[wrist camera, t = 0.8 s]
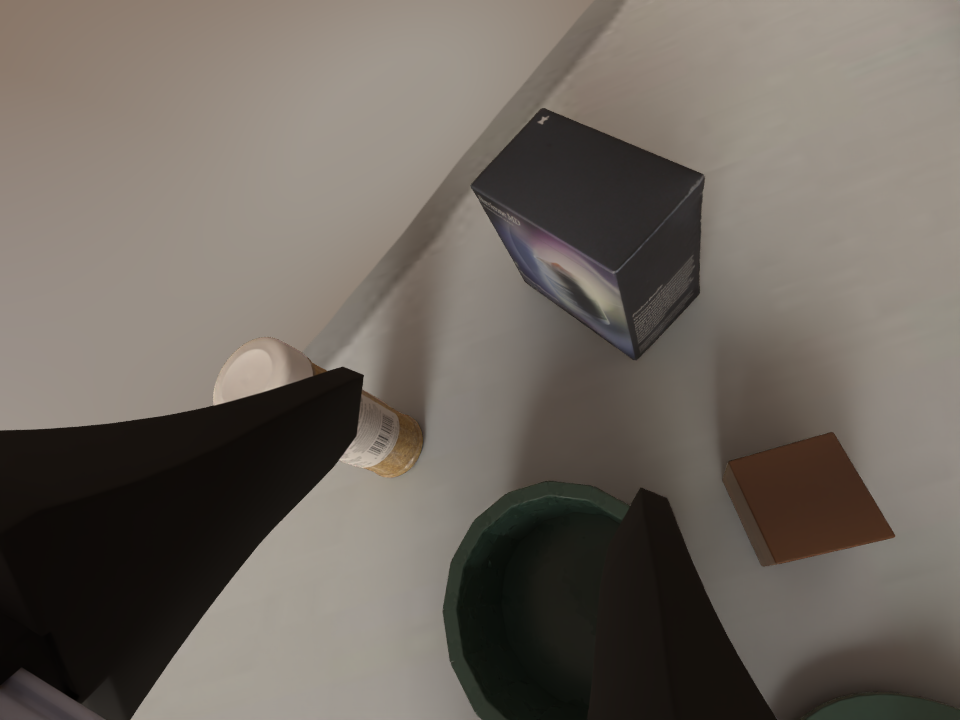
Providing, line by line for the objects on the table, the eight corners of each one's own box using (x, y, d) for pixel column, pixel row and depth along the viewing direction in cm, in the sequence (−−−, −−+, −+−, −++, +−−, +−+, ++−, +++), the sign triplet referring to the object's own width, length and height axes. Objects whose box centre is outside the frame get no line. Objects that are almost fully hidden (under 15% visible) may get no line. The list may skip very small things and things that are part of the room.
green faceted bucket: (731, 704, 21) (747, 747, 16) (517, 739, 24) (467, 787, 18) (646, 479, 26) (636, 453, 21) (477, 528, 29) (428, 516, 23)
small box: (518, 284, 35) (461, 184, 26) (578, 221, 35) (542, 100, 26) (633, 367, 29) (610, 275, 20) (704, 291, 29) (712, 167, 21)
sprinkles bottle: (394, 404, 35) (253, 319, 23) (437, 436, 32) (303, 358, 21) (357, 457, 34) (193, 396, 23) (398, 493, 32) (238, 445, 20)
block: (861, 544, 22) (897, 536, 18) (761, 566, 23) (776, 564, 19) (810, 453, 24) (833, 430, 20) (721, 478, 25) (727, 460, 21)
